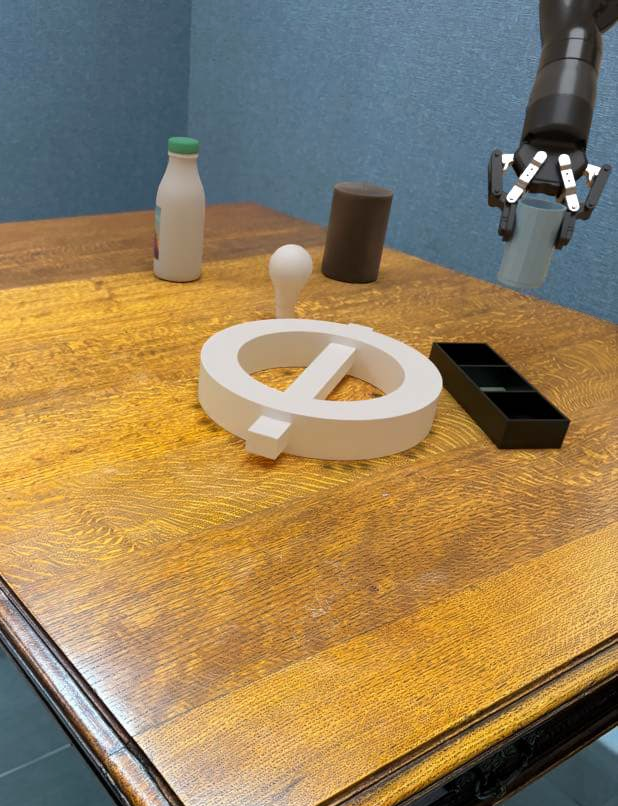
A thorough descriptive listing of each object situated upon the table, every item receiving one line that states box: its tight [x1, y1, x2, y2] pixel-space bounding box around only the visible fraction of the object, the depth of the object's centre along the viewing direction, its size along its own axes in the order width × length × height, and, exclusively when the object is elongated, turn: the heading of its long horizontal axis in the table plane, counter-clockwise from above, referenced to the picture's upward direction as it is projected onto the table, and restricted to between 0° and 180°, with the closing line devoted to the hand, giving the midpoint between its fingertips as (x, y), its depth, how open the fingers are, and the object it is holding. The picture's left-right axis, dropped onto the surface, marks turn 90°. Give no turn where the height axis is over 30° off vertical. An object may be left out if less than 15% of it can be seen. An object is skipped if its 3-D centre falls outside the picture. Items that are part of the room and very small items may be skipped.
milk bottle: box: [152, 136, 206, 283], centre depth 125 cm, size 8×8×20 cm
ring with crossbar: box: [197, 318, 443, 461], centre depth 96 cm, size 28×28×5 cm
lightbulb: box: [268, 243, 314, 319], centre depth 114 cm, size 6×6×11 cm
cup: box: [496, 197, 567, 290], centre depth 96 cm, size 5×5×9 cm
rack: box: [428, 341, 572, 450], centre depth 99 cm, size 8×22×4 cm, turn 9°
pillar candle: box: [320, 179, 394, 284], centre depth 134 cm, size 10×10×15 cm
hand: (533, 241), depth 94 cm, fingers closed on cup, 5 cm apart
